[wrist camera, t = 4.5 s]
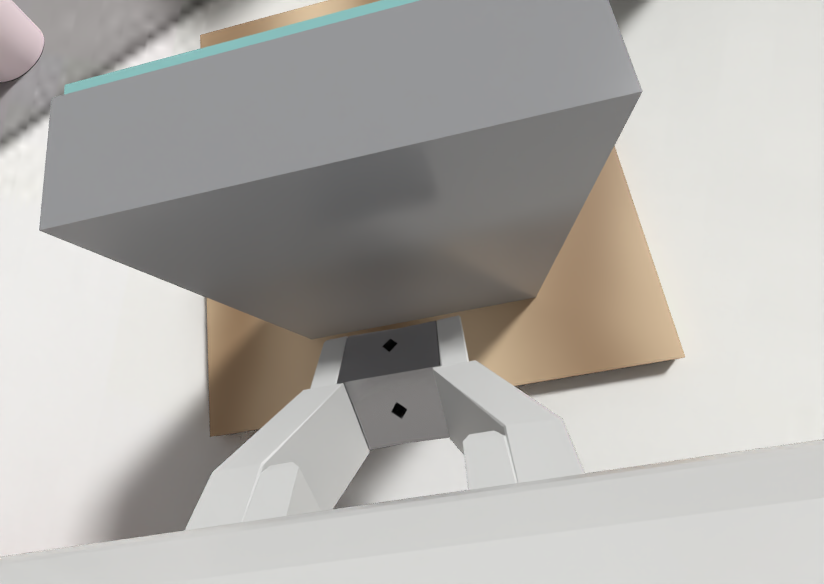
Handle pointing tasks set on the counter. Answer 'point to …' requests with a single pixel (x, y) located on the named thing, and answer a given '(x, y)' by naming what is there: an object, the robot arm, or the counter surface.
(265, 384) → the mat
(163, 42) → the counter surface
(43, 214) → the tile
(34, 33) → the smoothie
